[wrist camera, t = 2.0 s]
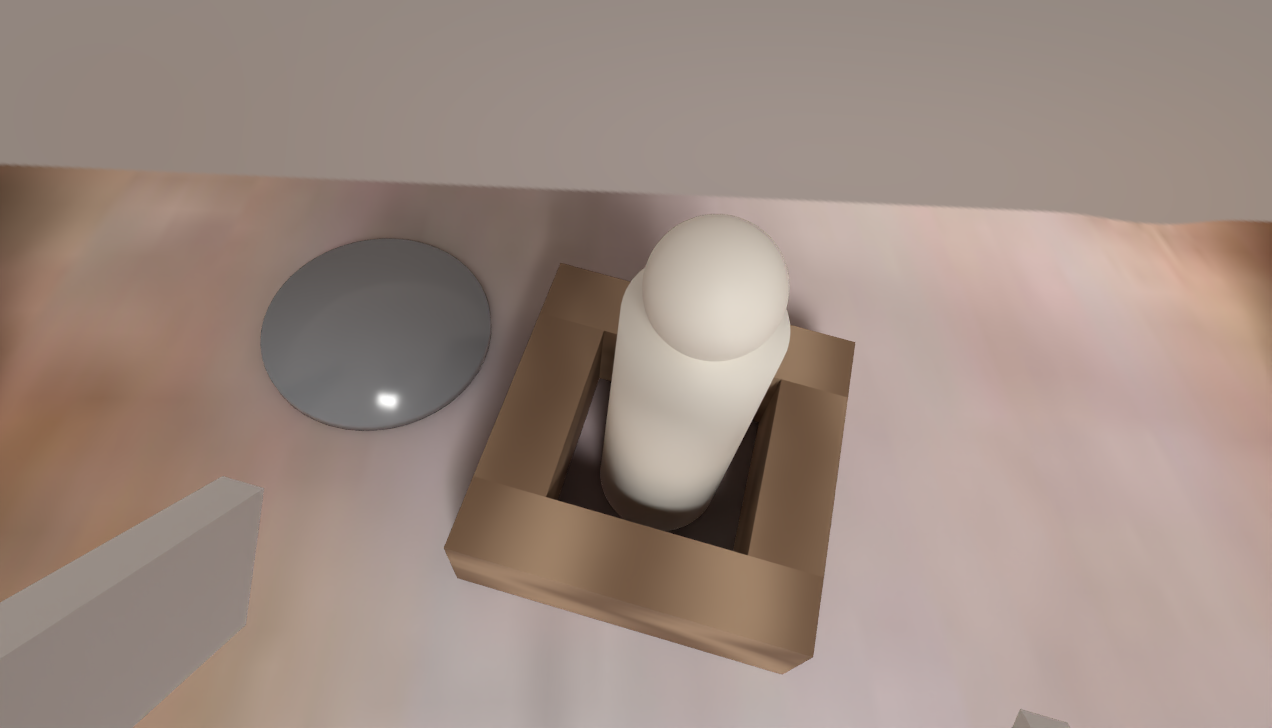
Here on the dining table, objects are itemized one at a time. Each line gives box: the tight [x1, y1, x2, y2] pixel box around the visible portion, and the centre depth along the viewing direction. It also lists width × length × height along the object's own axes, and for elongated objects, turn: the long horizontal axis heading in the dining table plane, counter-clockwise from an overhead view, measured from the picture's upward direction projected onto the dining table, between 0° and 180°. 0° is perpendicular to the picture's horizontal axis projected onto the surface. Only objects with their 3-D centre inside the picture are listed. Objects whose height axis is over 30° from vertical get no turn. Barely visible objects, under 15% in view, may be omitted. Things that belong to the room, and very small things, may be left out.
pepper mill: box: [600, 214, 790, 531], centre depth 25 cm, size 5×5×16 cm
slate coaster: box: [261, 239, 491, 431], centre depth 34 cm, size 10×10×1 cm
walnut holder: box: [444, 263, 855, 674], centre depth 30 cm, size 13×13×4 cm
